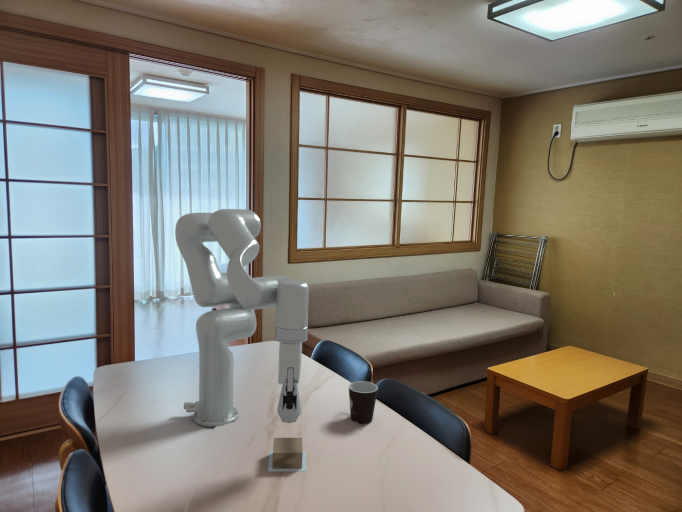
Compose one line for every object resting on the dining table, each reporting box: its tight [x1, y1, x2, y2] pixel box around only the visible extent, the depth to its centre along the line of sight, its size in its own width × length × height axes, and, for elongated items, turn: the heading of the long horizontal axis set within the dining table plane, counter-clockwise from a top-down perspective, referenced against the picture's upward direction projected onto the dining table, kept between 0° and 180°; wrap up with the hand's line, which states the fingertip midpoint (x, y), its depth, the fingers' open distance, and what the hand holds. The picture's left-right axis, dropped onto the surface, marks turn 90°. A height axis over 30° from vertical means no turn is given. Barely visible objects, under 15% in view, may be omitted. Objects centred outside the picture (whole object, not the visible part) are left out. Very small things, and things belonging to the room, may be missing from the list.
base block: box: [272, 437, 304, 469], centre depth 114 cm, size 7×7×4 cm
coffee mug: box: [348, 380, 379, 425], centre depth 140 cm, size 12×9×10 cm
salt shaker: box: [276, 368, 302, 424], centre depth 112 cm, size 6×6×13 cm
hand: (289, 406), depth 112 cm, fingers closed on salt shaker, 3 cm apart
